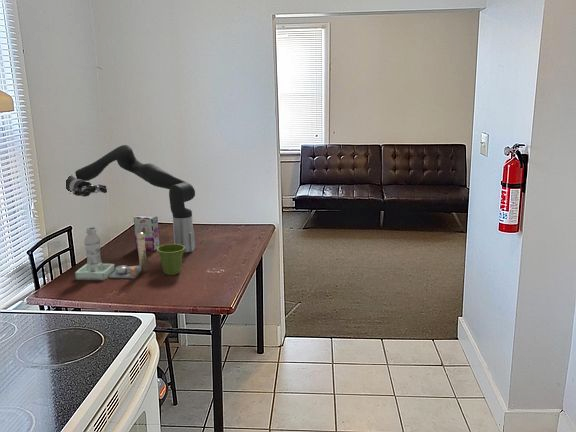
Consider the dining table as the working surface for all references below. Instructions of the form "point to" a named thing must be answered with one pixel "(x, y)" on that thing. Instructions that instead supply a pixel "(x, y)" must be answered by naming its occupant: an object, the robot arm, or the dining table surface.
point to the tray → (94, 273)
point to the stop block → (132, 270)
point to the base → (124, 275)
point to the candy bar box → (147, 231)
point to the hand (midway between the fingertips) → (97, 192)
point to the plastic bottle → (93, 251)
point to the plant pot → (171, 258)
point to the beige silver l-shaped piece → (142, 257)
